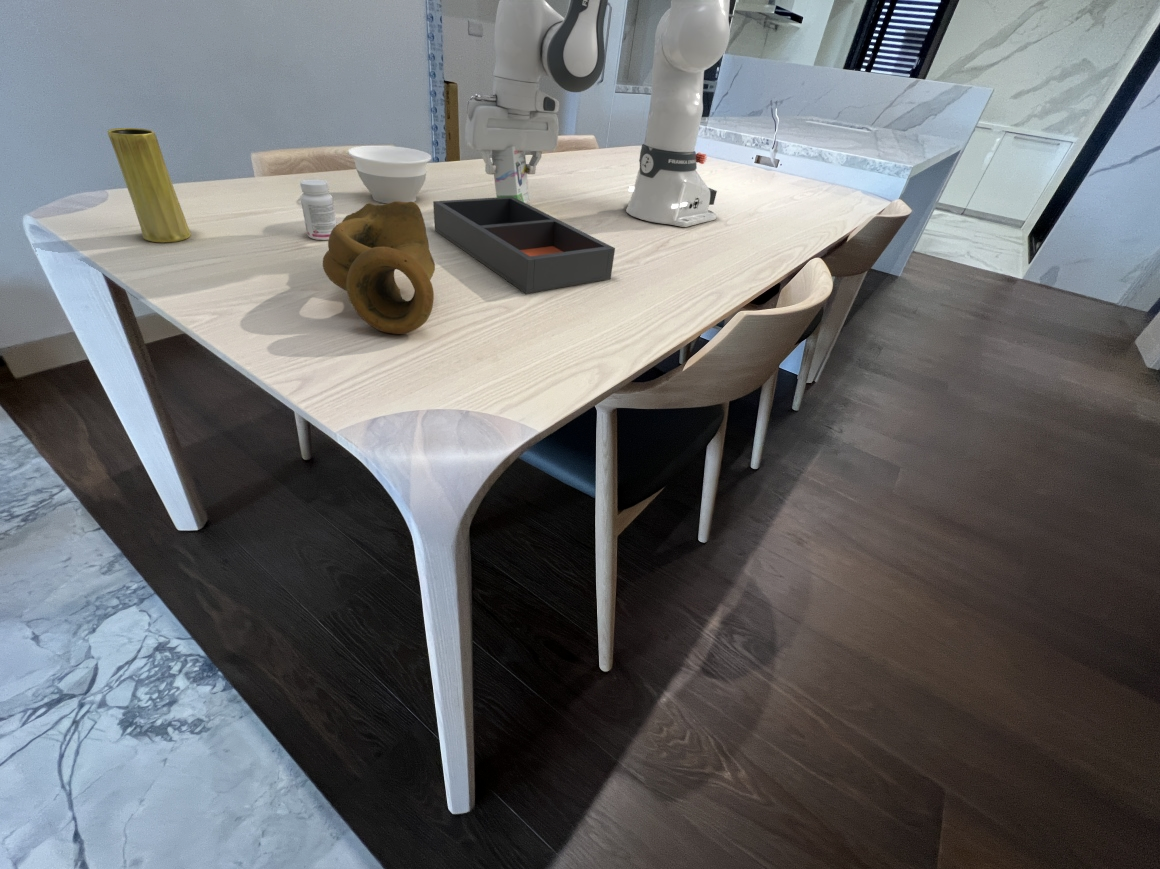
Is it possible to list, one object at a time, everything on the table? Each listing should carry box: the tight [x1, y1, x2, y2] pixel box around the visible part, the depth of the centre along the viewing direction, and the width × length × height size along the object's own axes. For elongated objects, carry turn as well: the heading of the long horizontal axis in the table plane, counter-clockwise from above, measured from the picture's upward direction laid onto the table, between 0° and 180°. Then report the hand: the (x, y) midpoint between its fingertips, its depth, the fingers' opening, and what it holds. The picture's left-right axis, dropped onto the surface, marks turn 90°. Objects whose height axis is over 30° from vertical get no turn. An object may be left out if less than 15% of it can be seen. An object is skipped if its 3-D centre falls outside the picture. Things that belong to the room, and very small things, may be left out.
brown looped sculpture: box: [322, 201, 436, 335], centre depth 69 cm, size 18×13×22 cm
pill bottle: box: [299, 178, 338, 241], centre depth 86 cm, size 5×5×8 cm
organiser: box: [432, 197, 616, 295], centre depth 91 cm, size 16×32×5 cm, turn 37°
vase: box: [106, 127, 192, 243], centre depth 77 cm, size 6×6×14 cm
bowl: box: [347, 145, 432, 204], centre depth 109 cm, size 16×16×8 cm
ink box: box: [491, 146, 531, 204], centre depth 112 cm, size 9×5×12 cm, turn 168°
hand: (511, 173), depth 111 cm, fingers open, 8 cm apart
